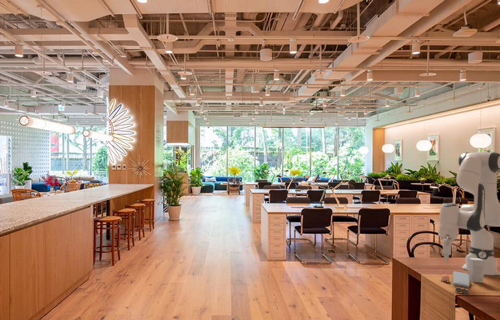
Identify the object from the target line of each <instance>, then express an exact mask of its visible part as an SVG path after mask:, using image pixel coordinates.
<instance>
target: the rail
mask: <svg viewBox="0 0 500 320" xmlns="http://www.w3.org/2000/svg"><path fill="white" fill-rule="evenodd" d="M461 288H462V287H459V288H456V287H455V292H456V291H457V292H462V293H465V294H464V295H467V294H468V295H469V290H466V289H467V288H464V289H461ZM457 292H456V293H457ZM462 293H461V294H462Z"/></svg>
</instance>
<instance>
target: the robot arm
mask: <svg viewBox="0 0 500 320" xmlns="http://www.w3.org/2000/svg"><path fill="white" fill-rule="evenodd" d="M458 166H459V168H458V171H457V173H456V178H455V182H456V183H457V186H459V187H460V188H461V189H463V190H464V192H465V191H466V192H468V193H470V194H472V195H473V204H464V205H461V207H460V208H459V205H458V204H457V203H455V202H453V203H452V202H444V203H442V204H441V205H440V208H439V209H440V210H439V216H438V217H439V218H438V219H439V225H438V234H437V235H438V237H440V240H441V241H442V255H444V256H443V257H444V258H443V259H444V260H443V262H444V263H449V258H450V256H451V255H452V243H453V242H455V240H457V239H458V235H459V234H458V233H459V229H465V230H469V231H470V245H469V253H468V254H466V256H465V258H464V260H465V263H464V264H463V265H462V266H461V269H463V270H466V271H468V262H469V258H480V259H482V260H484V276H500V271H498V269H497V264H498V263H497V262H498V261H497V259H496V258H495V257H494V256H495V250H494V243H495V242H494V241H495V237H494V235H493V234H492V233H491V232H489V231H487V230H486V229H485V226H489V227H490V226H492V227H500V201H499V199H498V193H497V182H498V176H497V172H499V171H500V153H499V152H493V151H492V152H488V151H477V152H476V151H474V152H463V153H461V155H459V157H458Z"/></svg>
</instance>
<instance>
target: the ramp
mask: <svg viewBox="0 0 500 320" xmlns="http://www.w3.org/2000/svg"><path fill="white" fill-rule="evenodd" d="M452 285H453V286H456V287H462V286H463V287H462V288H466V289H469V288H470V281H469V275H468V272H467V273H465V272H459V271H456V270H455V271H452Z"/></svg>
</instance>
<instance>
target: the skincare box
mask: <svg viewBox="0 0 500 320" xmlns="http://www.w3.org/2000/svg"><path fill="white" fill-rule="evenodd" d="M467 274H468V275H469V282H472V283H482V284H483V283H484V277H485V275H484V260H482V259H480V258H469V262H468V270H467Z"/></svg>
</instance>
